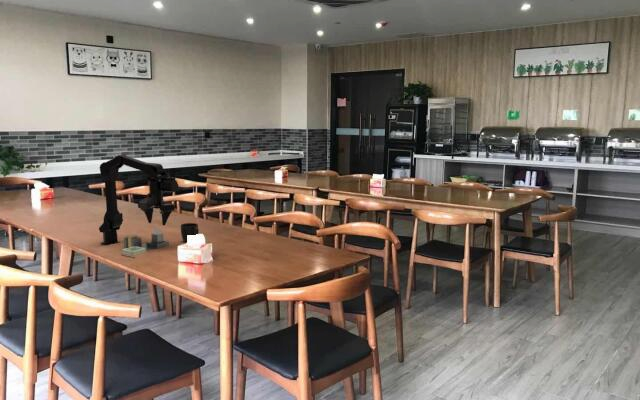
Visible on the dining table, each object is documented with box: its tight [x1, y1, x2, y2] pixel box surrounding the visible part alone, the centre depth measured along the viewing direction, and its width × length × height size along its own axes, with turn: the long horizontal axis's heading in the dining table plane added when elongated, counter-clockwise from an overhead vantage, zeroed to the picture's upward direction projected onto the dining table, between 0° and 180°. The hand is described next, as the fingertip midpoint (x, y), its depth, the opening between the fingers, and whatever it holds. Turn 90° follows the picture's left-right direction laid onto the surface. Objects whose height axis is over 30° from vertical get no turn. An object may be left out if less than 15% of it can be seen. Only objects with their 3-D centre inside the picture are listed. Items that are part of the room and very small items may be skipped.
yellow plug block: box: [125, 234, 138, 247], centre depth 245 cm, size 4×4×5 cm
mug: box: [180, 222, 200, 244], centre depth 258 cm, size 8×12×10 cm
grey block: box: [150, 227, 165, 244], centre depth 250 cm, size 4×4×8 cm
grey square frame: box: [120, 246, 147, 259], centre depth 237 cm, size 8×8×3 cm
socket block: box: [123, 236, 170, 252], centre depth 248 cm, size 14×15×6 cm
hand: (156, 224), depth 249 cm, fingers open, 9 cm apart
